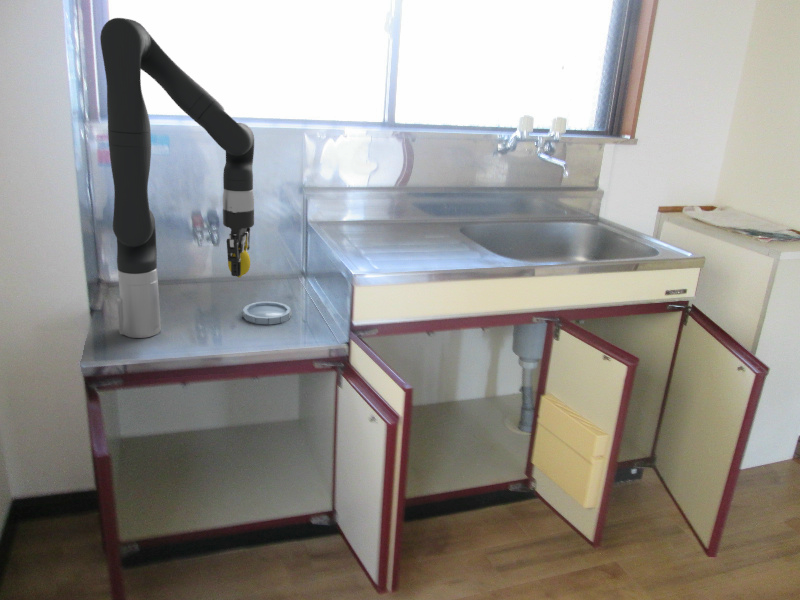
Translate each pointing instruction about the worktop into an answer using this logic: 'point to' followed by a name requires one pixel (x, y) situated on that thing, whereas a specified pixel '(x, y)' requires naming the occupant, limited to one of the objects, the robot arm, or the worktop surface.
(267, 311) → the dish
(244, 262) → the lemon
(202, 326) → the worktop surface
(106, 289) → the worktop surface
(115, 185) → the robot arm
